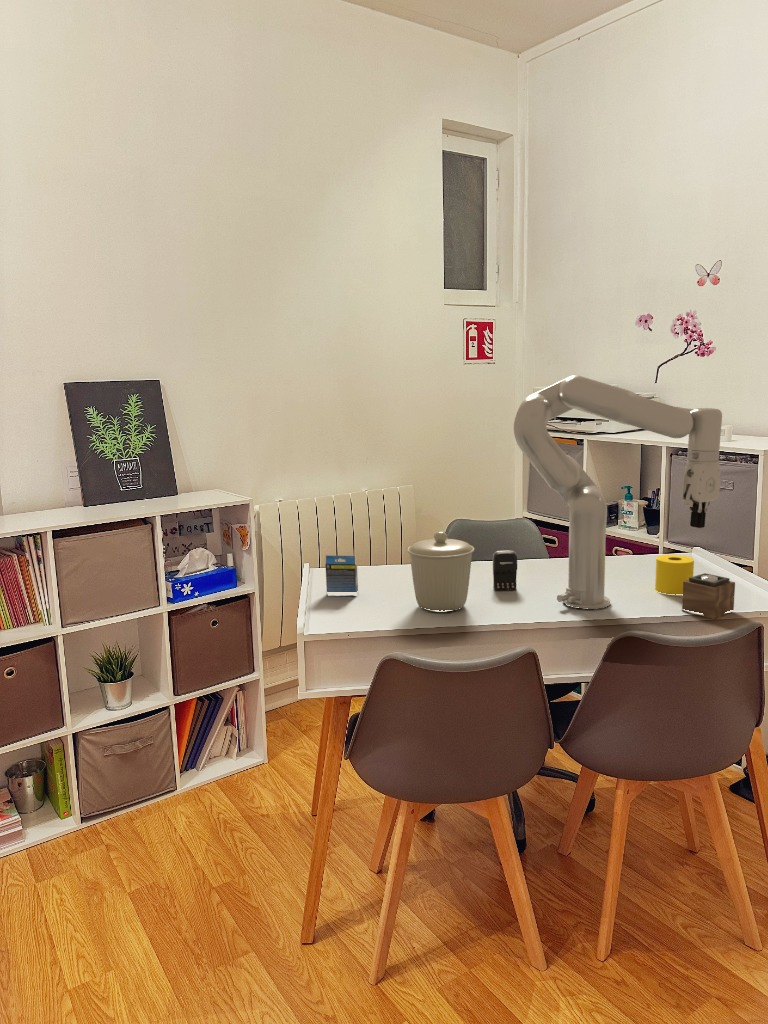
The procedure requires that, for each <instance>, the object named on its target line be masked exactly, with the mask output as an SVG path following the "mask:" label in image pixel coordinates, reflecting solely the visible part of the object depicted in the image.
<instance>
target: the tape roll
mask: <svg viewBox="0 0 768 1024" xmlns="http://www.w3.org/2000/svg"><path fill="white" fill-rule="evenodd" d="M694 565H695V560H694V558H693V557H690V556H687V555H681V554H662V555H659V556H656V558H655V585H654V591H655V590H657V591H658V592H661V593H666V594H675V595H676V594H683V581H686V580H689V578H690V577H694V568H695V566H694ZM658 592H657V593H658Z"/></svg>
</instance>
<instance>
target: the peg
mask: <svg viewBox="0 0 768 1024" xmlns="http://www.w3.org/2000/svg"><path fill="white" fill-rule="evenodd" d="M712 575H713V574H711V575H703V576H701V579H702V580H707V581H711V582H713V581H717V580H718V577H716V576H717V575H716V576H712Z"/></svg>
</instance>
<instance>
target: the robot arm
mask: <svg viewBox="0 0 768 1024" xmlns="http://www.w3.org/2000/svg"><path fill="white" fill-rule="evenodd" d="M573 409H574V410H576V411H580V412H583V413H587V414H590V415H594V416H596V417H600V418H603V419H607V420H610V421H613V422H616V423H619V424H622V425H627V426H628V425H629V426H633V427H636V428H639V429H643V430H646V431H647V432H651V433H655V434H658V435H662V436H664V437H668V438H672V439H682V438H685V437H687V436H688V441H687V443H688V445H687V455H686V456H687V457H686V464H685V465H686V466H685V470H684V475H683V479H682V480H683V482H682V490H681V497H682V499H683V500H684V506H686V507H689V511H690V521H689V523H690V525H689V526H690V527H692V528H696V529H702V528H705V526H706V516H707V512H708V509H709V506H710V505H711V504H713V503H714V501H717V500H718V499H719V498H720V496H721V495H720V494H721V465H720V462H719V459H720V448H721V434H722V423H723V413H722V411H721V409H718V408H711V407H710V408H709V407H698V408H689V407H688V408H686V407H681V406H673V405H671V404H666V403H663V402H661V401H656V400H653V399H651V398H648V397H644V396H642V395H639V394H637V393H636V392H633V391H630V390H629V389H625V388H622V387H619V386H615V385H611V384H608V383H604V382H603V381H598V380H595V379H592V378H588V377H586V376H585V377H584V376H581V375H577V374H575V375H570V376H568V377H566V378H563V379H562V380H559V381H558V382H556V383H554V384H552V385H550V386H547V387H546V388H543V389H541V390H538V391H537V392H534V393H532V394H530V395H528V396H526V397H525V398H524V399H523V400H522V401H521V403H520V405H519V407H518V409H517V411H516V414H515V417H514V423H513V435H514V439H515V442H516V444H517V446H518V447H519V449H520V450H521V452H522V453H523V455H524V456H525V457H526V458H527V460H528V461H529V462H530V464H531V465H532V466H533V468H534V469H535V470H536V471H537V472H538V474H539V475H540V476H541V478H542V479H543V480H544V481H545V483H546V485H547V486H548V487H549V488H550V489H551V490H553V491H554V492H556V493H557V494H558V495H559V496H560V498H561V499H562V500H563V501H564V503H566V504H567V506H568V509H569V510H568V511H569V512H568V513H569V515H568V516H569V519H568V521H569V526H568V527H569V529H568V579H567V580H568V583H567V584H568V587H567V588H565V592H564V593H562V594H561V593H560V594H558V595H557V596H556V600H557V602H559V603H562V604H563V603H565V604H567V605H570V606H573V607H579V608H588V609H594V610H597V609H596V608H602V609H605V608H604V607H606V608H608V607H609V606H610V604H611V600H610V598H608V597H607V596H605V585H606V584H605V582H606V579H605V578H606V576H605V575H606V538H607V537H606V536H607V533H606V532H607V521H608V519H607V518H608V506H607V505H608V504H607V501H606V498H605V496H604V493H603V492H602V490H601V489H600V488H599V487H598V485H597V484H596V483H595V481H594V480H593V479H591V477H590V475H588V473H587V472H586V470H584V468H583V467H582V466H581V465H580V464H579V463H578V461H577V460H576V459H575V458H573V457H572V456H570V455H568V454H566V453H565V451H564V450H563V449H562V448H561V447H560V446H559V444H558V443H557V442H556V440H555V439H554V438H553V437H552V436H551V434H550V433H549V431H548V429H547V425H548V422H549V421H550V420H553V419H555V418H557V417H559V416H562V415H563V414H565V413H567V412H569V411H572V410H573ZM562 601H563V602H562ZM607 606H608V607H607Z"/></svg>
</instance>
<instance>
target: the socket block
mask: <svg viewBox="0 0 768 1024" xmlns="http://www.w3.org/2000/svg"><path fill="white" fill-rule="evenodd" d="M703 575H712V576H716V577H718V580H717V581H713V582H711V581H707V580H702V579H701V576H703ZM735 591H736V582H735V581H731V580H730V578H729V577H724V576H719V575H715V574H709V573H705V572H704V573H702V574H698V575H693V577H690V578H689V580H686V581H683V596H682V600H681V601H682V605H681V606H682V608H681V610H682V609H685V610H689V611H694V612H699V613H703V614H704V618H707V619H712V620H715V619H718V618H721V617H724V616H725V615H724V613H725V612H727V611H730V610H734V609H735V608H734V607H735ZM734 611H735V610H734Z"/></svg>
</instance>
